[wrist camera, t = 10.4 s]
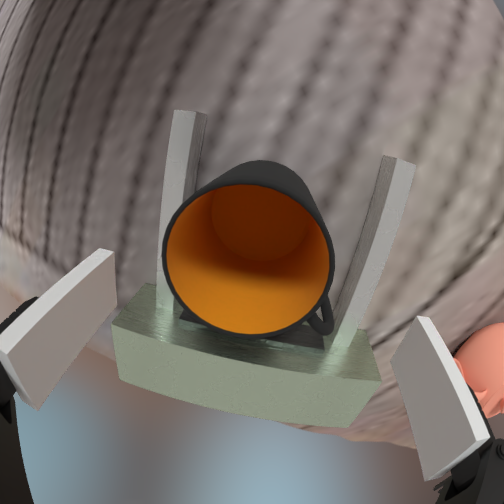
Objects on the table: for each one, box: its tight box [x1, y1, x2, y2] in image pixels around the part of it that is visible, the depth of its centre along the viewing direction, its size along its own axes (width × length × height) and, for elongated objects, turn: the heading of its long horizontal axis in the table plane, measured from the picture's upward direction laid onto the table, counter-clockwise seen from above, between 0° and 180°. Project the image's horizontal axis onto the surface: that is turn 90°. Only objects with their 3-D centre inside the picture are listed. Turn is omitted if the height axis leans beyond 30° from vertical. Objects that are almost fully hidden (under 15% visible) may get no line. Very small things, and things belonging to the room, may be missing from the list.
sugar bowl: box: [453, 322, 504, 418], centre depth 21 cm, size 12×14×10 cm
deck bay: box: [111, 110, 416, 428], centre depth 21 cm, size 23×22×7 cm
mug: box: [161, 160, 335, 339], centre depth 18 cm, size 8×12×10 cm
